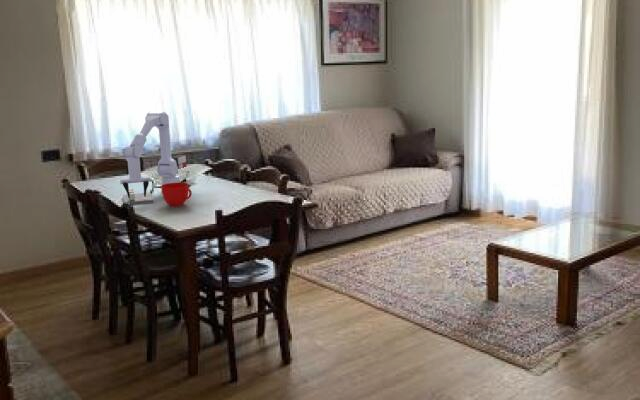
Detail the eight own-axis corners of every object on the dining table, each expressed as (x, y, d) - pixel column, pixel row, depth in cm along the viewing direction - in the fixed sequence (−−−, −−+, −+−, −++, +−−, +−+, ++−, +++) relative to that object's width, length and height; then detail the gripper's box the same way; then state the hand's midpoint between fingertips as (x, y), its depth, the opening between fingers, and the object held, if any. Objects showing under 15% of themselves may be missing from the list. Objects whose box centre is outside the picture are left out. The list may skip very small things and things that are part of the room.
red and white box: (180, 183, 351) (178, 157, 348) (173, 182, 352) (171, 157, 348) (188, 179, 361) (186, 154, 358) (181, 179, 362) (179, 154, 359)
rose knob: (134, 196, 309) (133, 190, 308) (134, 197, 307) (133, 191, 306) (129, 196, 308) (128, 191, 307) (129, 197, 306) (128, 191, 305)
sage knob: (134, 198, 303) (134, 192, 303) (135, 199, 301) (134, 193, 300) (129, 199, 302) (129, 193, 302) (130, 200, 300) (129, 194, 300)
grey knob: (133, 194, 314) (132, 188, 314) (133, 194, 312) (133, 189, 311) (128, 194, 314) (128, 188, 313) (128, 195, 311) (128, 189, 311)
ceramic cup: (182, 210, 285) (180, 189, 283) (157, 206, 294) (155, 186, 292) (201, 204, 296) (199, 184, 294) (176, 201, 305) (174, 181, 302)
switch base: (150, 195, 320) (150, 192, 319) (153, 202, 302) (153, 199, 302) (123, 197, 315) (122, 194, 315) (124, 205, 298) (124, 202, 297)
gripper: (119, 172, 293) (122, 199, 296) (150, 170, 298) (152, 197, 301) (119, 170, 300) (121, 196, 303) (149, 168, 304) (151, 194, 307)
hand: (137, 196), depth 302 cm, fingers open, 7 cm apart
